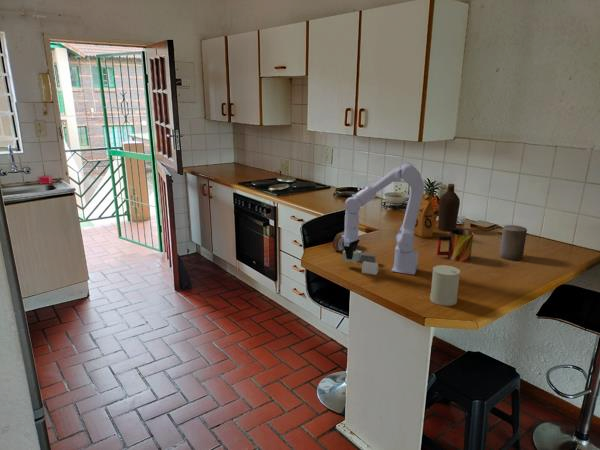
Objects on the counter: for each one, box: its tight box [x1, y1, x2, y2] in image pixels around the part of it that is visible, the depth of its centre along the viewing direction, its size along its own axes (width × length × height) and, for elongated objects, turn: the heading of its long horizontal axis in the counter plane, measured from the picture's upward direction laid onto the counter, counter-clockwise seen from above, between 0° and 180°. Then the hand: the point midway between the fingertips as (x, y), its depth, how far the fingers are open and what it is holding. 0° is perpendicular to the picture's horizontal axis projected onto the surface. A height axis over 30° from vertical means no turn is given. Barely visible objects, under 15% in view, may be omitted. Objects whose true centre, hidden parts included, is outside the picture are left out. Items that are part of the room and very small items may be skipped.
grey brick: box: [361, 261, 379, 276], centre depth 178 cm, size 6×3×4 cm, turn 68°
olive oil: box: [437, 183, 461, 232], centre depth 235 cm, size 11×11×25 cm
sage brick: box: [342, 249, 359, 264], centre depth 182 cm, size 6×3×4 cm, turn 68°
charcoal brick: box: [360, 252, 377, 264], centre depth 188 cm, size 6×3×4 cm, turn 68°
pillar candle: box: [499, 224, 528, 261], centre depth 195 cm, size 10×10×15 cm
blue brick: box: [356, 249, 363, 262], centre depth 192 cm, size 6×3×4 cm, turn 68°
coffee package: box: [414, 192, 435, 239], centre depth 225 cm, size 10×12×22 cm
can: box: [429, 264, 461, 307], centre depth 153 cm, size 9×9×12 cm
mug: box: [436, 228, 474, 263], centre depth 193 cm, size 10×14×12 cm
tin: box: [332, 230, 345, 252], centre depth 205 cm, size 15×3×8 cm, turn 141°
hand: (350, 257), depth 182 cm, fingers closed on sage brick, 3 cm apart
